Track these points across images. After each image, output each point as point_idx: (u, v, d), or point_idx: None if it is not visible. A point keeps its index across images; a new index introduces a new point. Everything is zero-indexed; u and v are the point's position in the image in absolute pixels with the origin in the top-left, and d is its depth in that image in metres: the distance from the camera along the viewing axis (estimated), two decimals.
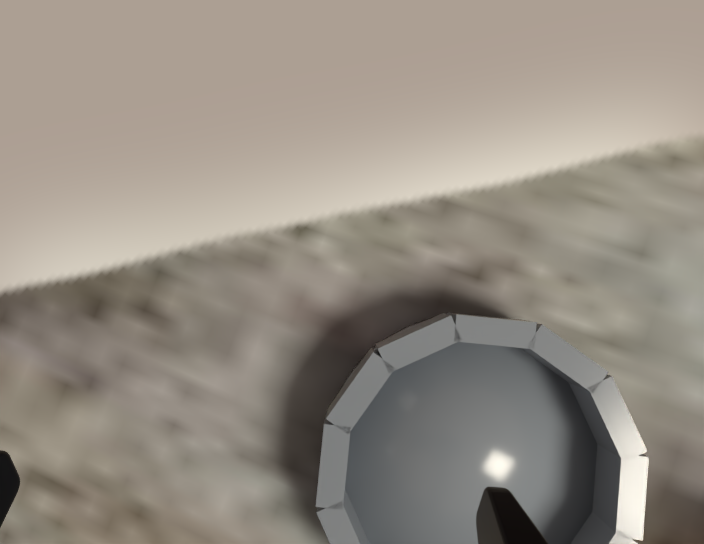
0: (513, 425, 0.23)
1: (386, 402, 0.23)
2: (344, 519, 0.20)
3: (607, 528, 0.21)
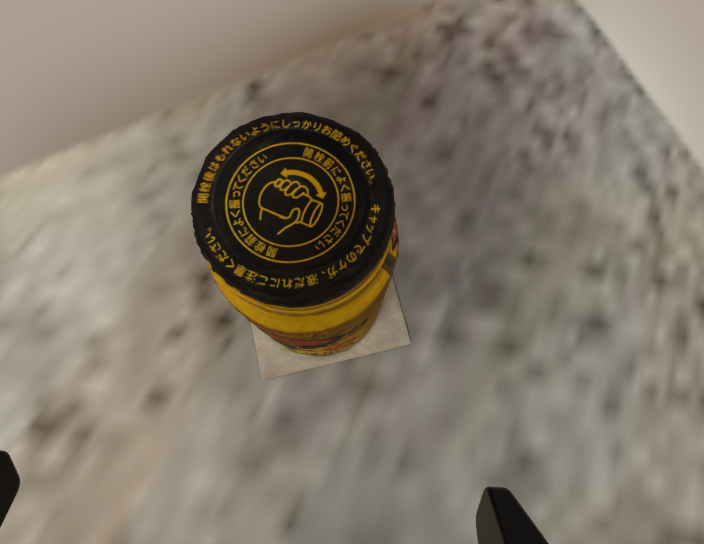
0: None
1: None
2: None
3: None
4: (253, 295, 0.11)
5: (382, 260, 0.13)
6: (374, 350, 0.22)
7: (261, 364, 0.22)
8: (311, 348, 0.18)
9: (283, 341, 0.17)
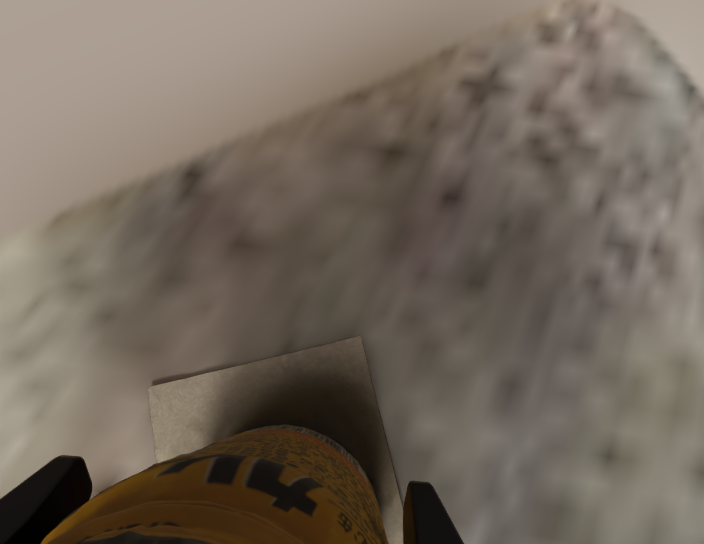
0: None
1: None
2: None
3: None
4: None
5: None
6: None
7: None
8: None
9: None
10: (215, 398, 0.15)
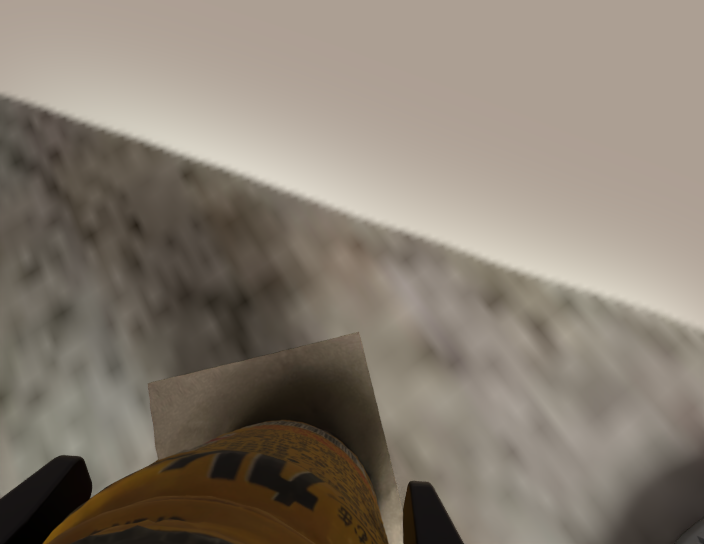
0: None
1: None
2: None
3: None
4: None
5: None
6: None
7: None
8: None
9: None
10: (215, 393, 0.16)
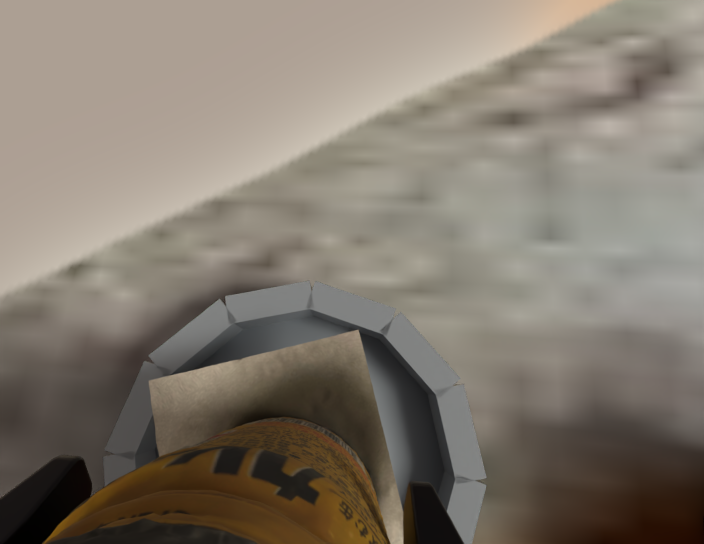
0: None
1: None
2: None
3: (451, 479, 0.18)
4: None
5: None
6: None
7: None
8: None
9: None
10: (216, 391, 0.16)
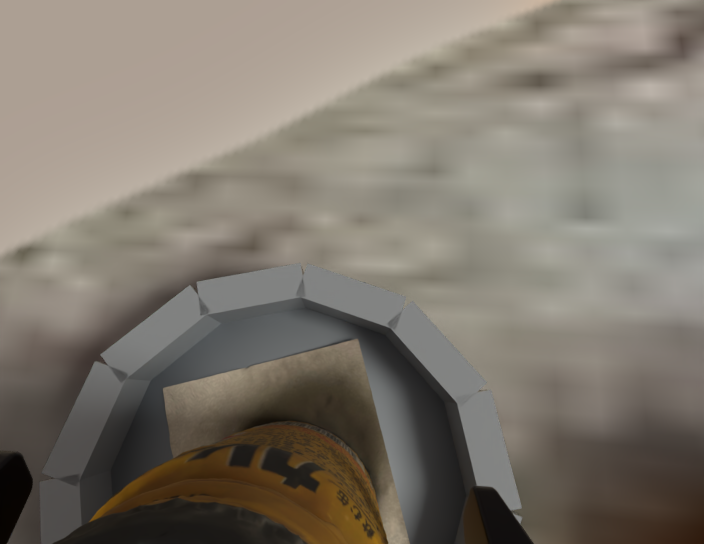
0: None
1: (156, 432, 0.17)
2: None
3: None
4: None
5: None
6: None
7: None
8: None
9: None
10: (225, 397, 0.17)
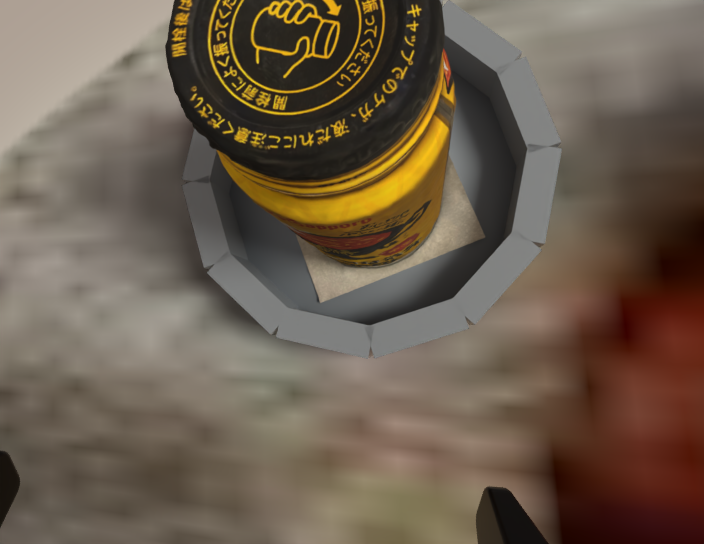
0: None
1: None
2: (236, 266, 0.18)
3: (523, 156, 0.18)
4: (267, 167, 0.08)
5: (435, 99, 0.09)
6: (443, 250, 0.19)
7: (317, 285, 0.20)
8: (367, 253, 0.15)
9: (332, 248, 0.15)
10: None
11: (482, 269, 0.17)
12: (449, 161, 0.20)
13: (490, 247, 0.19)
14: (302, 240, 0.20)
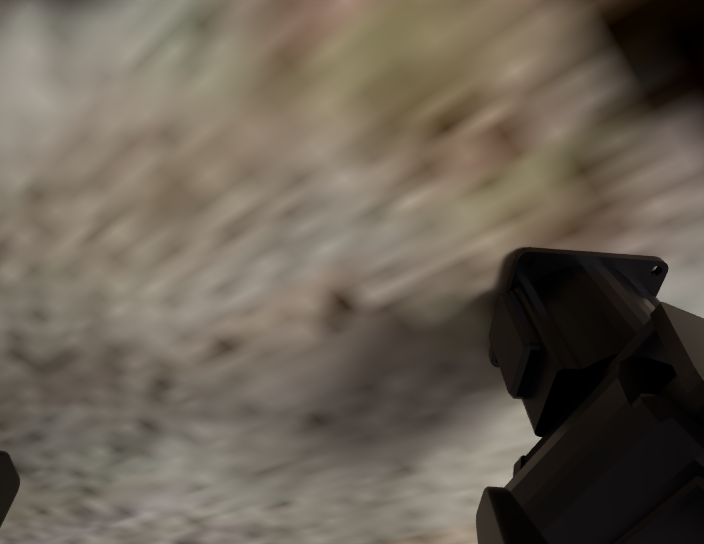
0: None
1: None
2: None
3: None
4: None
5: None
6: None
7: None
8: None
9: None
10: None
11: None
12: None
13: None
14: None
